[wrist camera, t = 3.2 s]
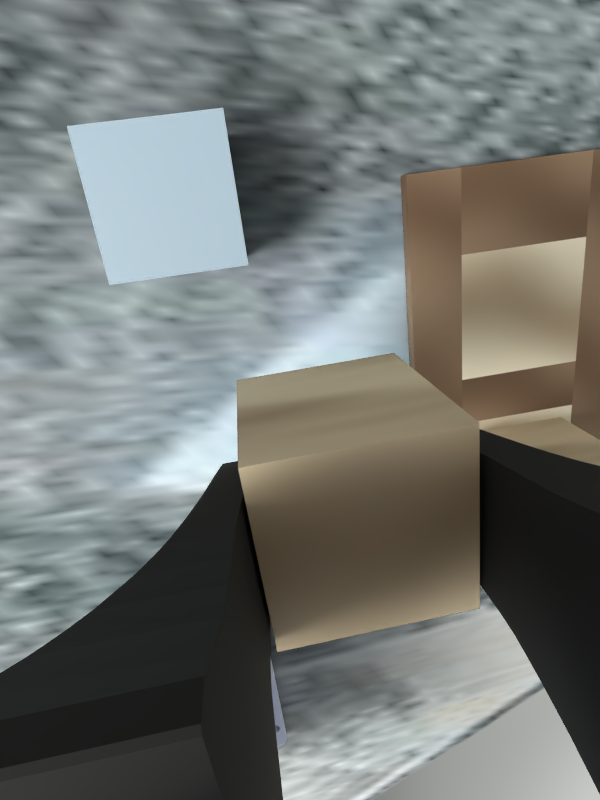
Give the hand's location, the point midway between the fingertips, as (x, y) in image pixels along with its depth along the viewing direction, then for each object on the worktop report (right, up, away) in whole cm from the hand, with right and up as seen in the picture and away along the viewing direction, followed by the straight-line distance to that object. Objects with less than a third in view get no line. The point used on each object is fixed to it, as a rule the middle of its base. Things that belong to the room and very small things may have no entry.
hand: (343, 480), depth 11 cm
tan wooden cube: (0, +1, +2) cm, 2 cm away
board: (+8, +2, +10) cm, 13 cm away
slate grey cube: (-5, +9, +6) cm, 12 cm away
